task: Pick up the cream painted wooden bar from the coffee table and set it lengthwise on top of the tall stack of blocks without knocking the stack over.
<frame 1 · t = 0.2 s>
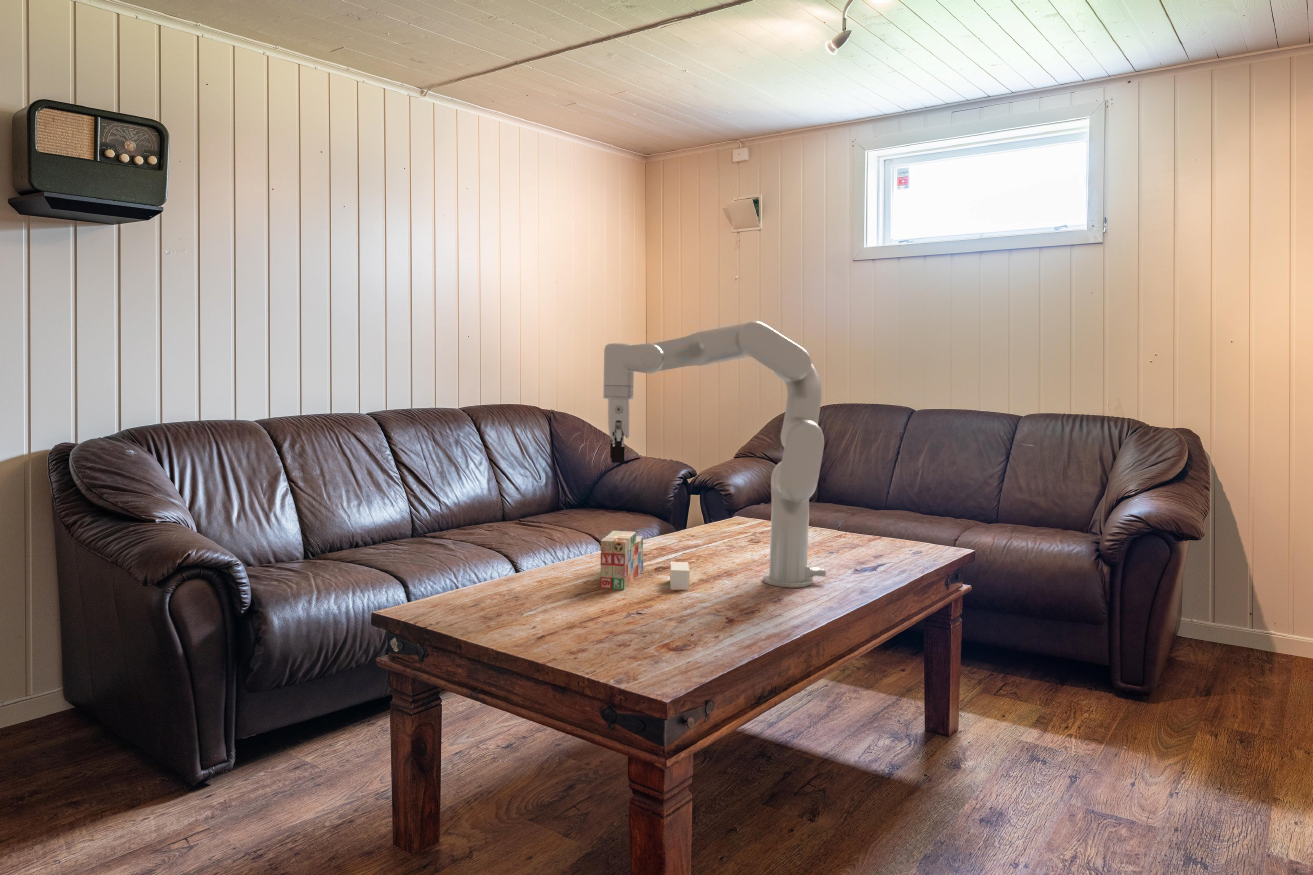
hand: (617, 460, 220), 31 cm above the table, fingers open, 9 cm apart
cream bar block: (679, 585, 218), on the table
stack of blocks: (622, 580, 223), on the table
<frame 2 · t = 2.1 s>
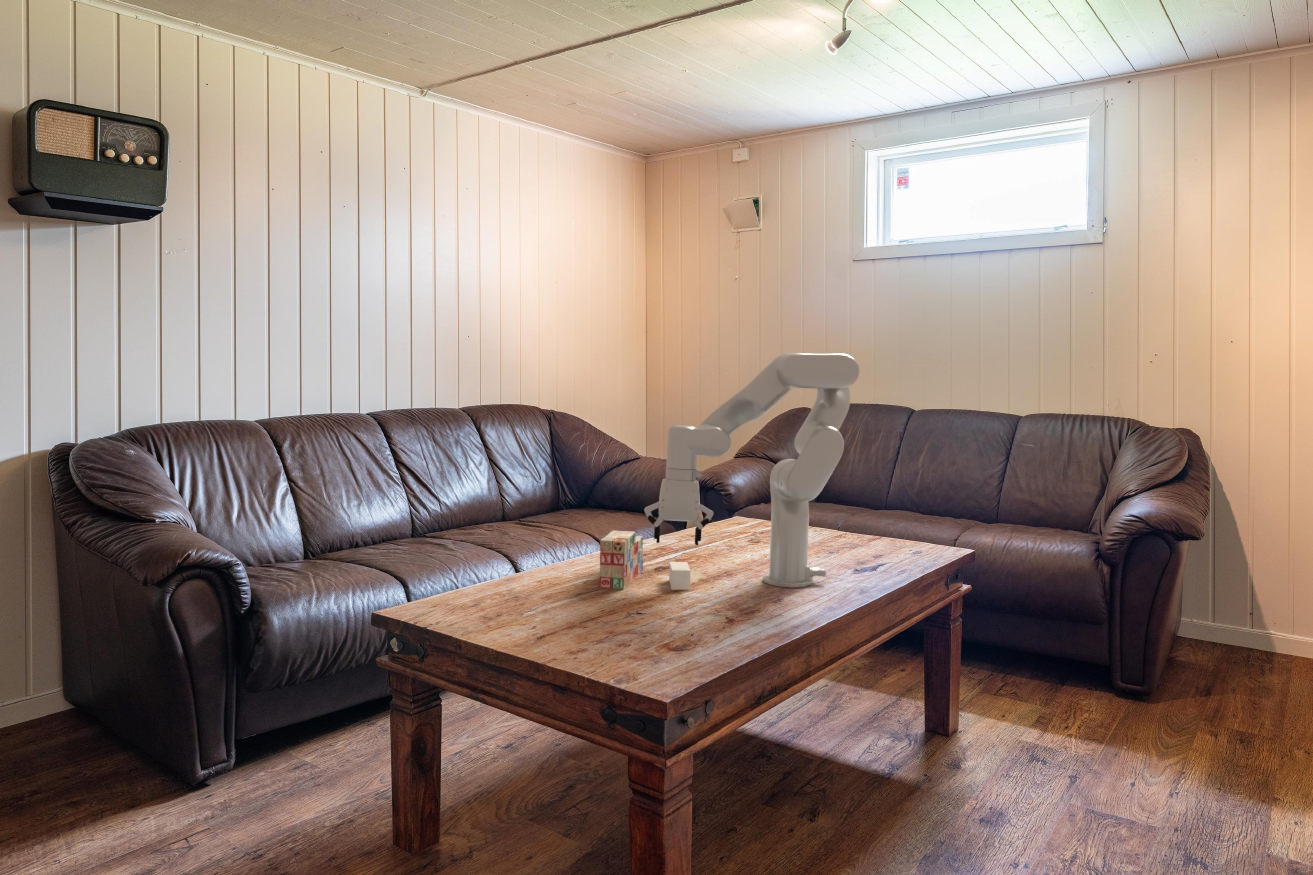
hand: (677, 543, 217), 11 cm above the table, fingers open, 9 cm apart
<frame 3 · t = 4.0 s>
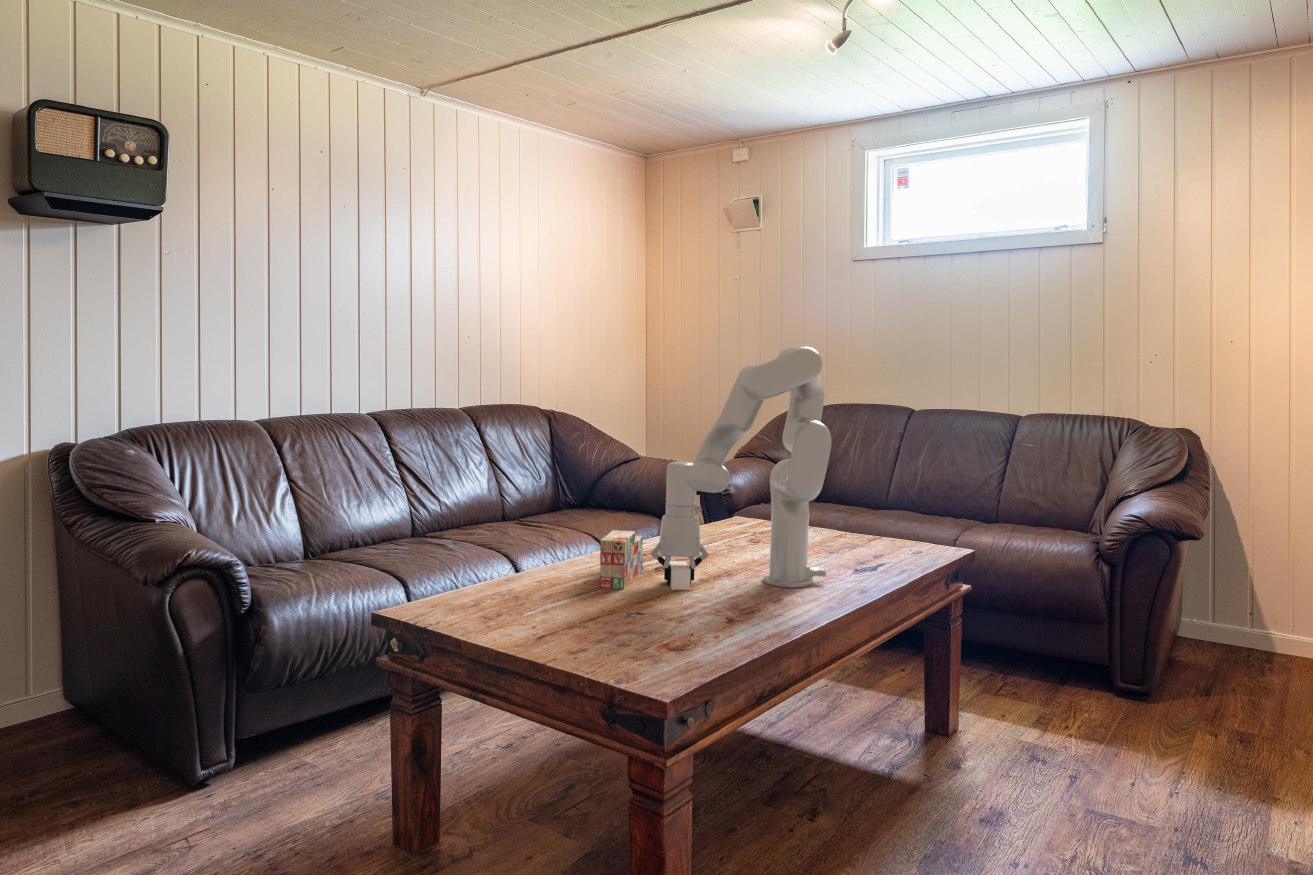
hand: (679, 582, 218), 1 cm above the table, fingers closed on cream bar block, 4 cm apart
cream bar block: (679, 585, 218), on the table, touching gripper
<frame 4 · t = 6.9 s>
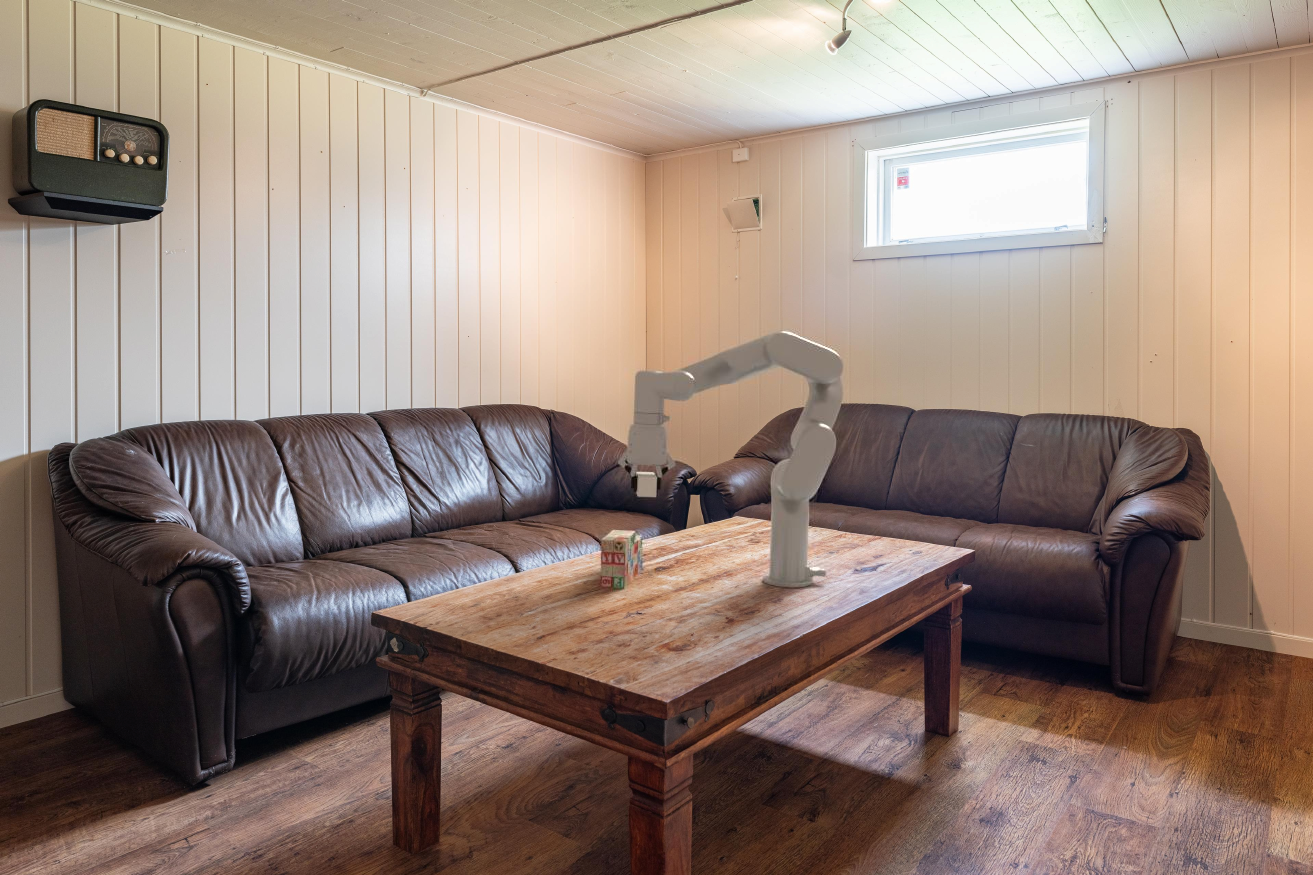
hand: (645, 491, 219), 23 cm above the table, fingers closed on cream bar block, 4 cm apart
cream bar block: (645, 494, 219), point 22 cm above the table, touching gripper
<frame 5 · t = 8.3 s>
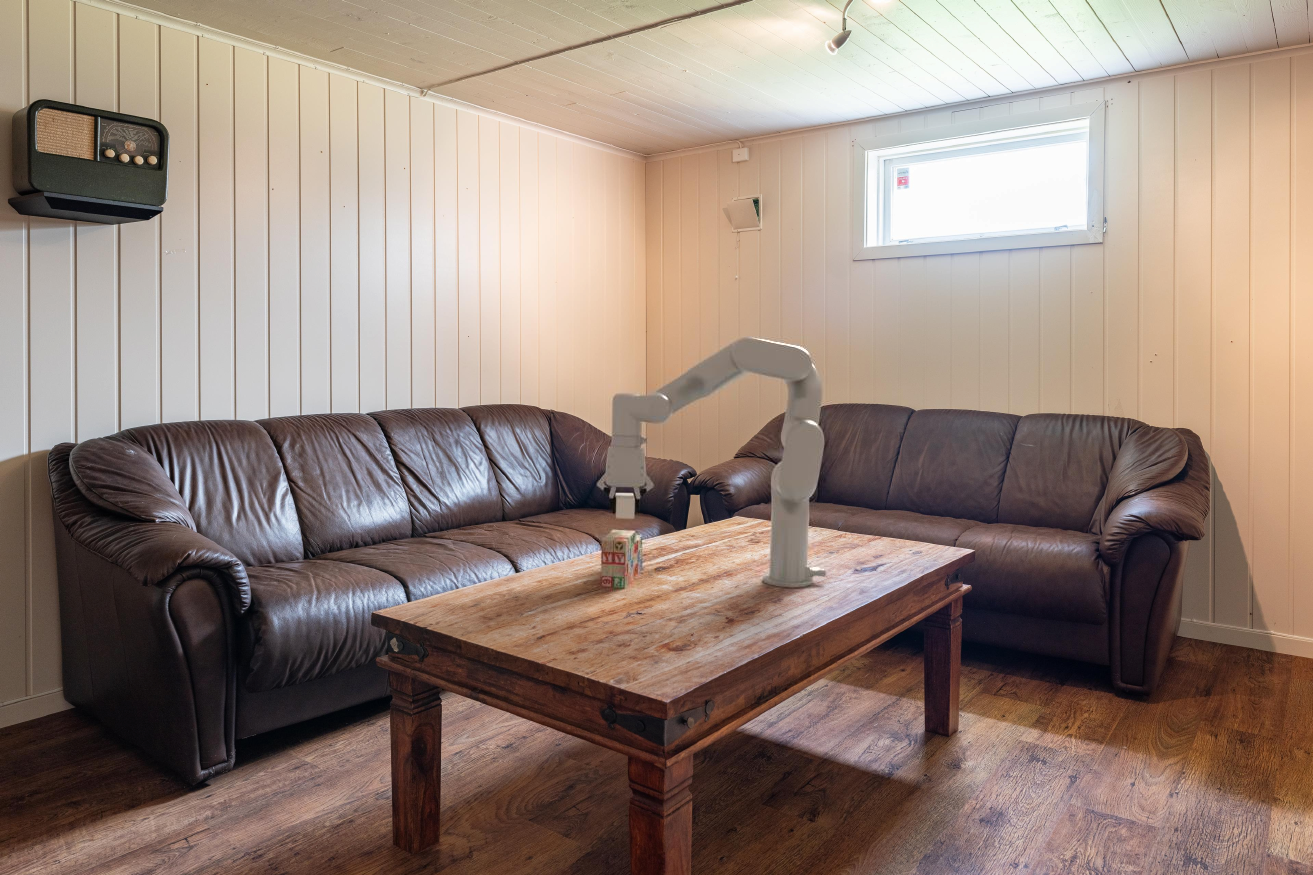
hand: (624, 512, 222), 17 cm above the table, fingers closed on cream bar block, 4 cm apart
cream bar block: (624, 515, 222), point 17 cm above the table, touching gripper
when the fingers open (14 cm above the table, at t = 9.6 s): cream bar block moves 1 cm, resting on stack of blocks.
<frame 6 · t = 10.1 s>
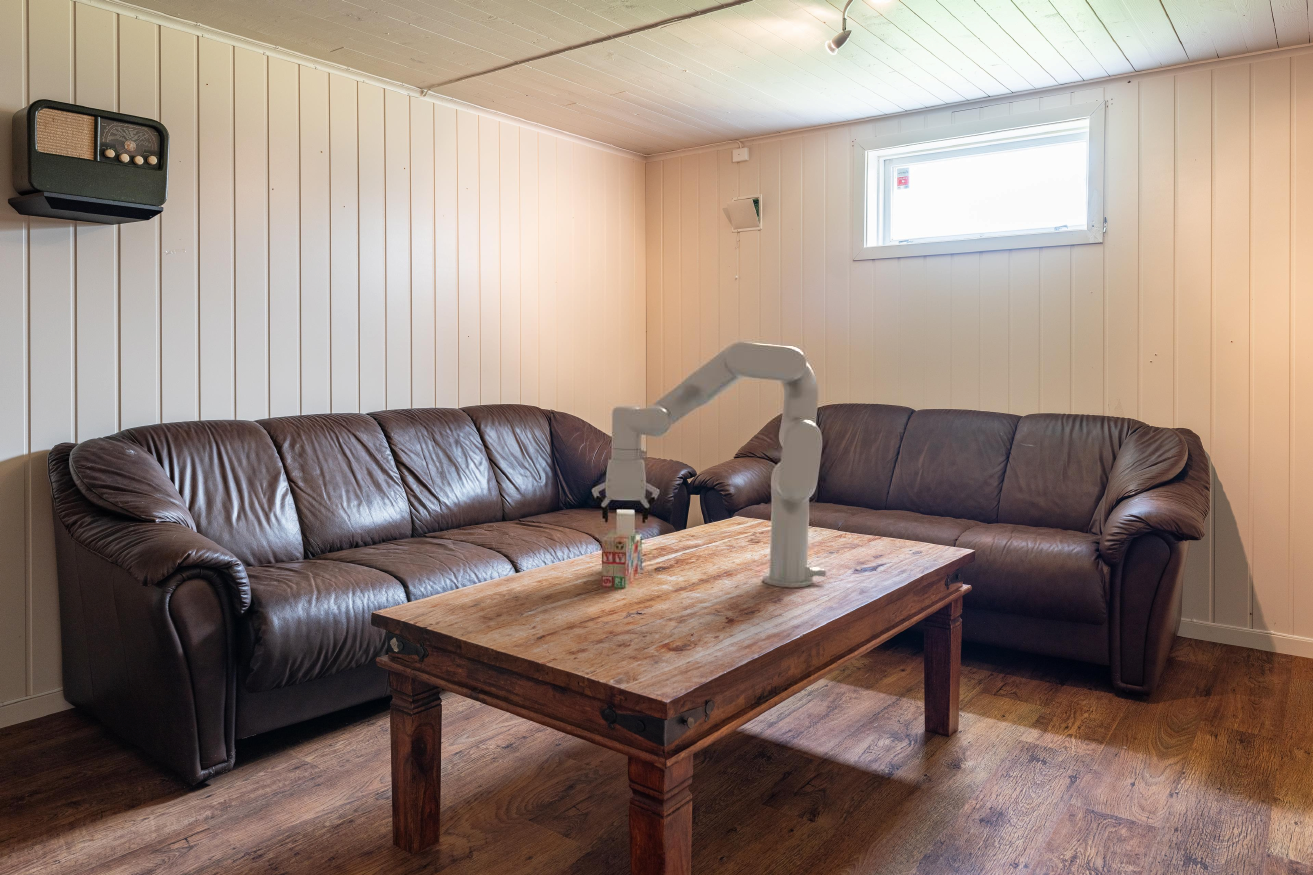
hand: (625, 521, 222), 15 cm above the table, fingers open, 9 cm apart
cream bar block: (625, 532, 223), point 12 cm above the table, touching stack of blocks
stack of blocks: (622, 578, 225), on the table, touching cream bar block
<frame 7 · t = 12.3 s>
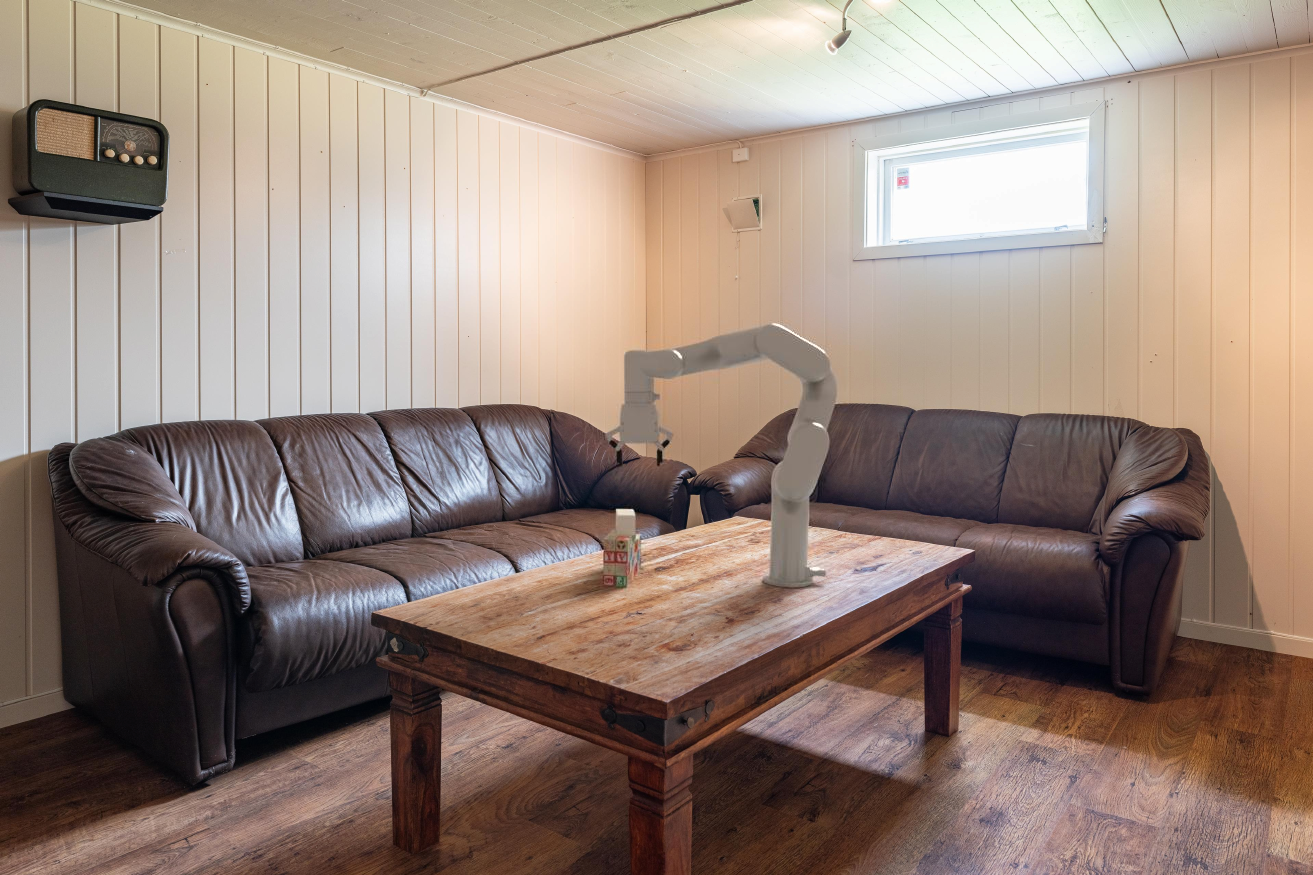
hand: (639, 465, 223), 29 cm above the table, fingers open, 9 cm apart
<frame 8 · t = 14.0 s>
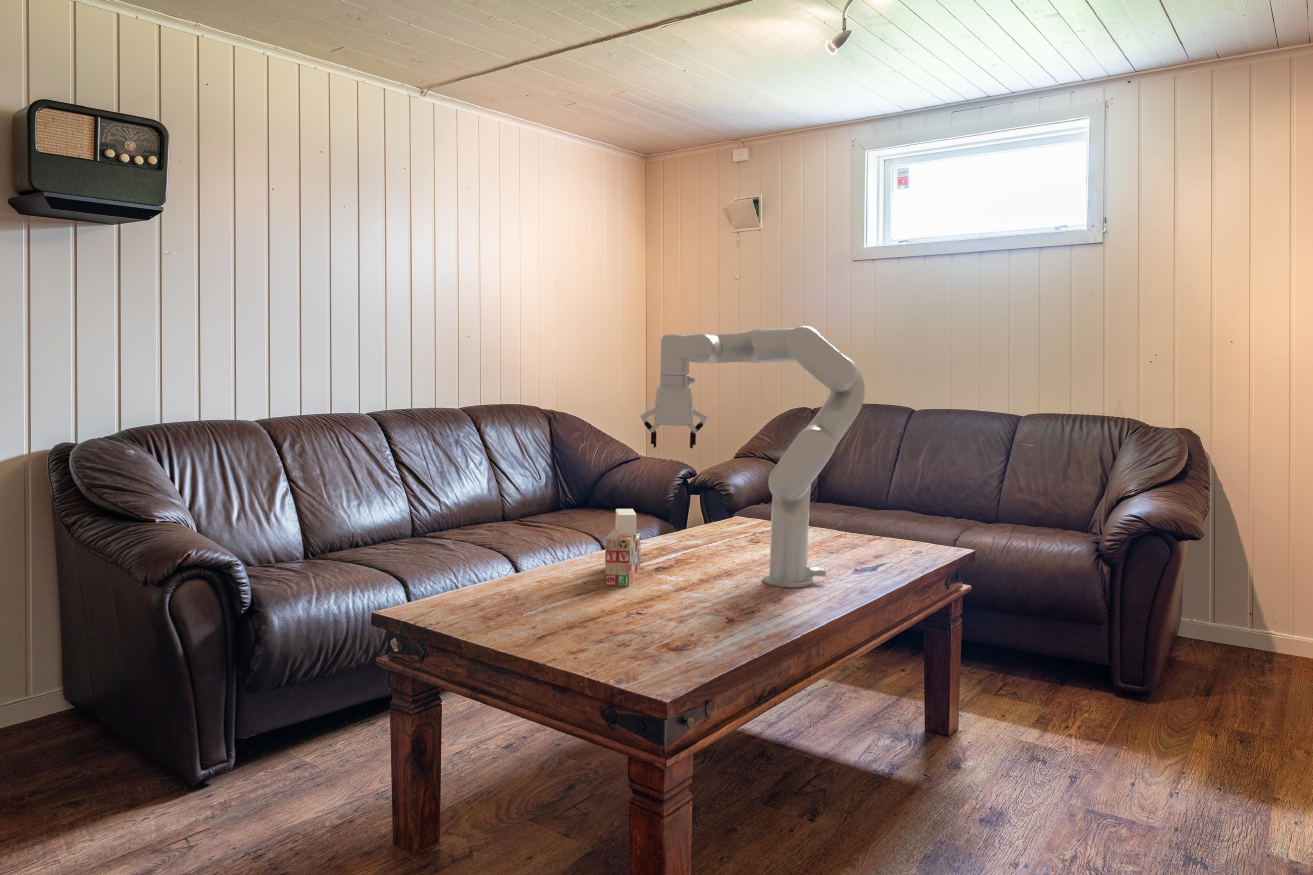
hand: (673, 447, 228), 33 cm above the table, fingers open, 9 cm apart
at the end: cream bar block inside the target area on the stack of blocks (2.0 cm from its centre), point 12.5 cm above the stack of blocks's base; stack of blocks tilted 0°; the gripper is holding nothing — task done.
